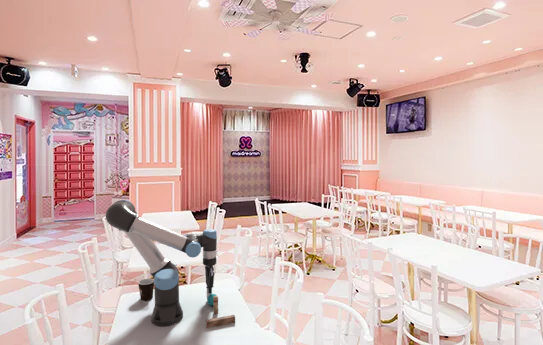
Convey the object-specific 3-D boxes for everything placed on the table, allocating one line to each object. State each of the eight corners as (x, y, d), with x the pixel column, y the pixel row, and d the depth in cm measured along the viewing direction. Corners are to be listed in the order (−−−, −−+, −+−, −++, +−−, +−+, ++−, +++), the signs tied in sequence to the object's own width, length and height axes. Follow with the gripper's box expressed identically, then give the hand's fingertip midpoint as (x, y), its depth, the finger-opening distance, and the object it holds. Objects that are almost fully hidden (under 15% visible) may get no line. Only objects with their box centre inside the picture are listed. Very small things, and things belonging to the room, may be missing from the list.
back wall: (206, 328, 152) (206, 322, 152) (205, 325, 154) (205, 319, 154) (235, 322, 157) (235, 316, 157) (234, 320, 159) (234, 314, 159)
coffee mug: (138, 296, 186) (138, 279, 185) (154, 294, 189) (154, 277, 188) (138, 305, 175) (137, 287, 174) (155, 302, 178) (154, 285, 177)
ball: (208, 308, 171) (208, 297, 171) (206, 303, 177) (206, 292, 177) (219, 306, 173) (219, 295, 173) (217, 301, 179) (217, 291, 179)
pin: (214, 314, 165) (213, 298, 165) (213, 312, 167) (212, 296, 167) (218, 313, 166) (218, 297, 166) (217, 311, 168) (217, 295, 168)
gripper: (219, 259, 175) (218, 301, 176) (213, 253, 186) (212, 292, 188) (205, 261, 172) (205, 304, 173) (200, 254, 183) (200, 294, 185)
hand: (209, 298), depth 180 cm, fingers closed
